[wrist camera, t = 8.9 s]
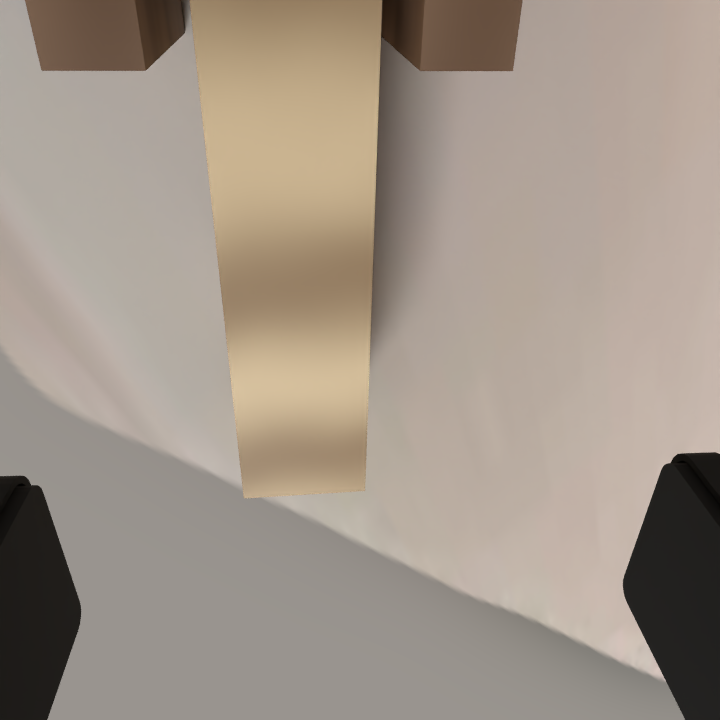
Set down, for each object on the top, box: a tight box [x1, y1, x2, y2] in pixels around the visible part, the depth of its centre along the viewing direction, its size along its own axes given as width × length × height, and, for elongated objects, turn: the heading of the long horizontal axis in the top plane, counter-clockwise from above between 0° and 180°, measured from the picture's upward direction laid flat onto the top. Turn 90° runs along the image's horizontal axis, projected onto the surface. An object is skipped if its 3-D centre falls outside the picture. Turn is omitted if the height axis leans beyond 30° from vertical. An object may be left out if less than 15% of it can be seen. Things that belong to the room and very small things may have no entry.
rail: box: [190, 0, 382, 498], centre depth 19 cm, size 17×4×6 cm, turn 179°
